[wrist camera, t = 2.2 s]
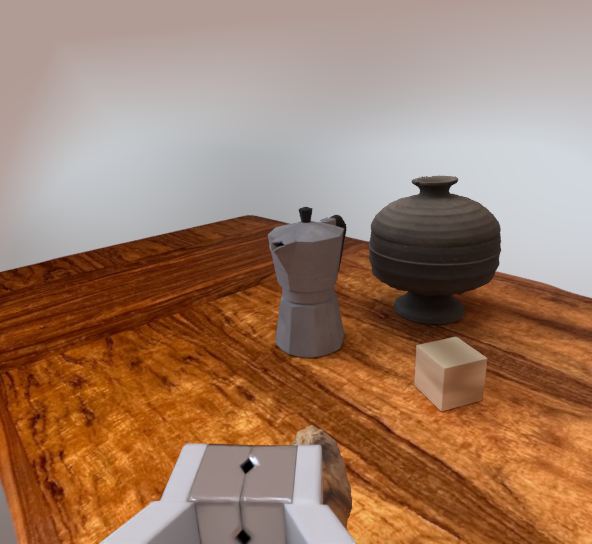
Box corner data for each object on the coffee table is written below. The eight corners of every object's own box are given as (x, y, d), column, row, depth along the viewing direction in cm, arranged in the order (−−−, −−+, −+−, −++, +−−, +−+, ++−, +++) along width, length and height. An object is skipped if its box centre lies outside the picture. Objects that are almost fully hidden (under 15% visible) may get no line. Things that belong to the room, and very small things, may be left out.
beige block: (452, 375, 52) (456, 336, 50) (482, 400, 48) (487, 358, 46) (414, 385, 51) (416, 345, 49) (441, 411, 46) (444, 368, 44)
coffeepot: (311, 374, 53) (305, 223, 47) (250, 352, 59) (238, 214, 53) (373, 324, 65) (375, 197, 59) (317, 309, 70) (314, 192, 64)
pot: (338, 309, 68) (348, 172, 62) (405, 285, 80) (419, 168, 74) (448, 352, 56) (474, 188, 50) (508, 316, 68) (535, 180, 62)
